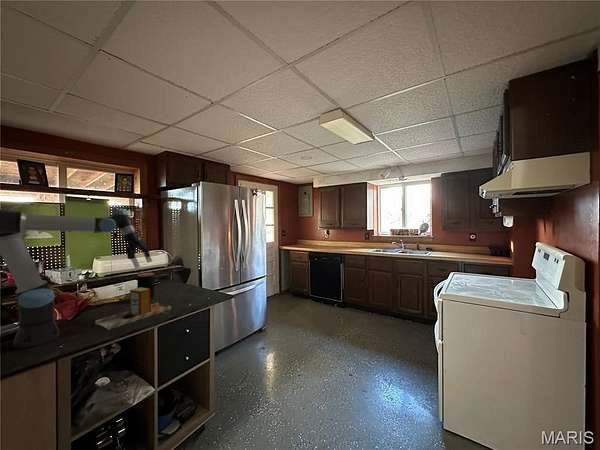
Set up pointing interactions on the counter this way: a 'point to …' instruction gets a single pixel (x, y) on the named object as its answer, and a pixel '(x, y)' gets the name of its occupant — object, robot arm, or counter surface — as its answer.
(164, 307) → the trap pad
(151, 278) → the coffee jar
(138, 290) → the baking soda box
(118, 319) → the pad
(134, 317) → the channel
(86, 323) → the counter surface
